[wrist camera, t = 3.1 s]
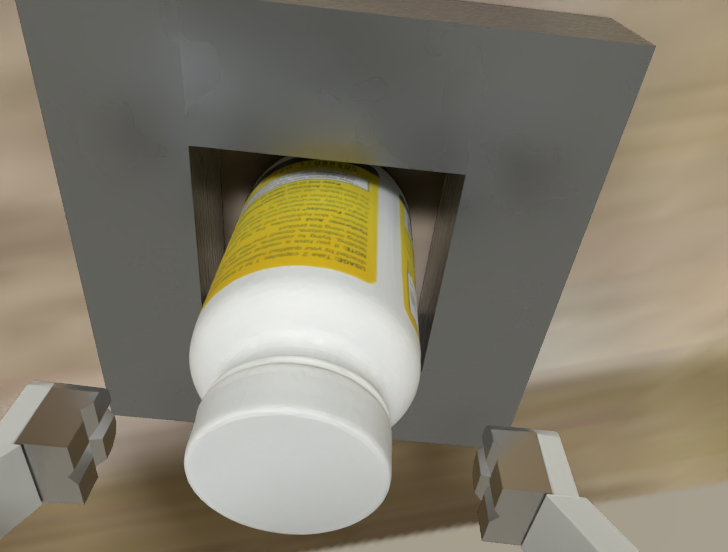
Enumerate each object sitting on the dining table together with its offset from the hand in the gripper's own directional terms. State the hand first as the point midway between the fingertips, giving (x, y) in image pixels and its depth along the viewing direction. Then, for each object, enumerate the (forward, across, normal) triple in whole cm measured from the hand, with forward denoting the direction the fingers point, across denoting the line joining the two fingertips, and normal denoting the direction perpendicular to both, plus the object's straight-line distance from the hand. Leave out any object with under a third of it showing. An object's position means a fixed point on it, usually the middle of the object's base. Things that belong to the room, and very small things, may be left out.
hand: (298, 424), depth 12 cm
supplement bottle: (+8, 0, -1) cm, 8 cm away
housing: (+8, 0, -1) cm, 8 cm away
